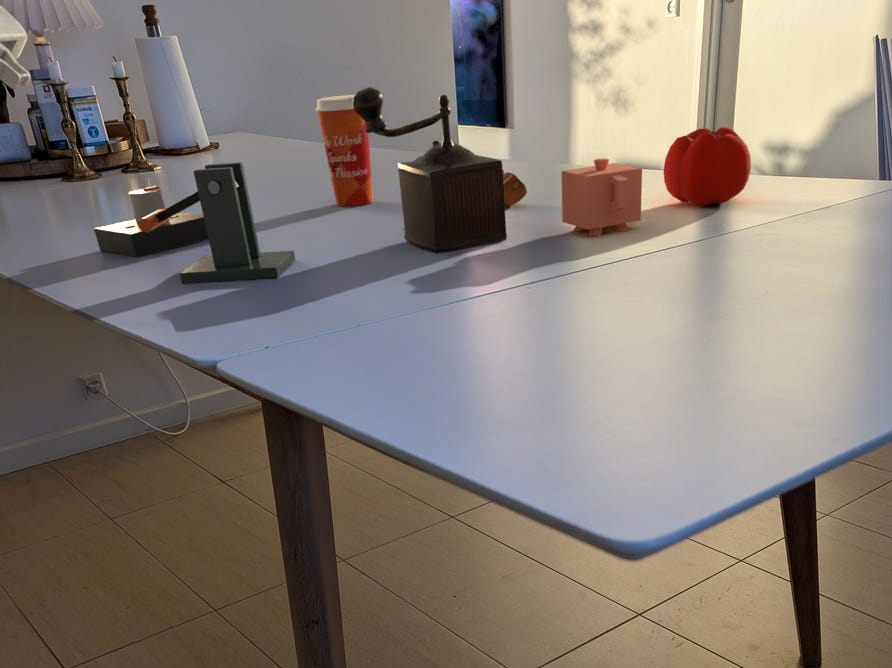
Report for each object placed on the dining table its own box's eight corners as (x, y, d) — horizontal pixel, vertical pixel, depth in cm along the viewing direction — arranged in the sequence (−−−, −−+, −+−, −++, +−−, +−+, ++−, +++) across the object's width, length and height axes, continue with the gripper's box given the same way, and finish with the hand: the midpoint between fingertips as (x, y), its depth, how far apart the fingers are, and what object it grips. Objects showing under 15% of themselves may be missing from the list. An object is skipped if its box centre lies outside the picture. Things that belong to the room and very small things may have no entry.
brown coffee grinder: (470, 227, 126) (459, 75, 116) (509, 240, 118) (500, 77, 108) (366, 246, 121) (345, 88, 111) (398, 260, 113) (378, 91, 102)
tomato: (673, 195, 135) (676, 125, 130) (756, 195, 130) (762, 123, 125) (652, 209, 127) (654, 136, 122) (738, 210, 123) (745, 134, 118)
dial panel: (136, 257, 126) (130, 232, 124) (100, 250, 132) (93, 227, 130) (215, 237, 133) (210, 214, 132) (177, 232, 139) (172, 209, 137)
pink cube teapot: (602, 217, 125) (602, 150, 121) (649, 231, 116) (651, 159, 111) (551, 226, 123) (549, 158, 118) (595, 241, 114) (595, 167, 109)
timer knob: (145, 225, 128) (137, 192, 126) (131, 223, 131) (122, 190, 128) (173, 220, 131) (165, 186, 128) (158, 217, 133) (150, 185, 131)
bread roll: (535, 207, 135) (534, 170, 132) (492, 213, 133) (490, 176, 131) (515, 199, 142) (513, 163, 139) (474, 205, 140) (471, 169, 137)
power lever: (146, 238, 110) (133, 218, 108) (163, 227, 114) (152, 208, 113) (229, 192, 106) (217, 171, 105) (244, 183, 111) (233, 163, 110)
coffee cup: (321, 208, 147) (305, 101, 139) (341, 198, 154) (326, 96, 145) (370, 207, 145) (356, 98, 137) (387, 197, 152) (375, 93, 143)
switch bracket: (181, 283, 111) (155, 175, 104) (205, 265, 118) (182, 164, 111) (277, 277, 110) (257, 168, 103) (295, 260, 117) (277, 157, 110)
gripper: (-142, -47, 90) (-10, 63, 94) (-35, -39, 106) (72, 54, 111) (-164, 11, 93) (-35, 115, 97) (-57, 11, 109) (49, 99, 114)
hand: (23, 83), depth 104 cm, fingers closed
